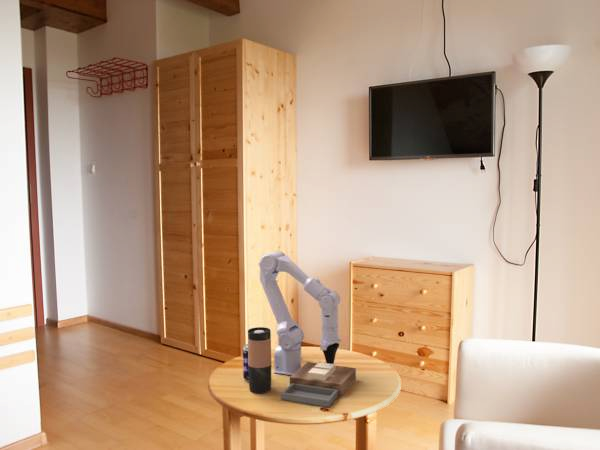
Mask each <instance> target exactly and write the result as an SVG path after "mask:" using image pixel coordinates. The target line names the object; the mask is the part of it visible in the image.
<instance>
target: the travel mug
mask: <svg viewBox="0 0 600 450" xmlns="http://www.w3.org/2000/svg"><path fill="white" fill-rule="evenodd" d="M271 333H272V332H271V328H268V327H265V326H264V327H261V326H258V327H251V328H249V329H248V330H247V344H248V370H249V381H248V386H249V387H248V388H249V391H250V392H251V393H252V392H253V394H259V395H260V394H267V393H268V392H270V391H271V390H272V335H271Z"/></svg>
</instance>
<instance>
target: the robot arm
mask: <svg viewBox="0 0 600 450" xmlns="http://www.w3.org/2000/svg"><path fill="white" fill-rule="evenodd" d="M258 266H259V281H260V283H261V286H262V288H263V290H264V293H265V295H266V298H267V300H268V303H269V306H270V308H271V310H272V314H273V315H274V317H275V320H276V323H277V328H276V334H277V344H278V343H279V345H280V346H278V345H277V346H276V347H275V349H274V353H273V358H274V359H273V361H274V362H273V363H274V365H273V367H274V369H273V373H274V374H280V375H287V376H292V375H293V374H294V373H295V372H296V371H298V370H299V369H300V368H301V367H302V344H301V343H302V341H303V340H304V337H305V336H304V335H305V333H304V331H303V329H302V328H301V327H300V326H299V325H298V323H297V321H296V320H294V319H293V318H292V316H291V314H290V311H289V309H288V307H287V303H286V301H285V299H284V297H283V294H282V291H281V289H280V286H279V284H278V282H277V277H278V276H279V273H281V272H283V273H287V274H288V275H290V276H291V277H292V278H293V279H295V280H297V281H298V282H299V283H300V284H302V286H303V290H304V291H305V292H306V293H307V294H308V295H310V296H311V297H312V298H314V300H315V301H317V302H318V305H319V307H320V309H321V339H320V340H321V341H320V344H319V350H320V351H322V353H323V356H324V359H325V363H329V364H335V359H336V355H337V351H338V349H339V347H340V343H341V342H342V338H340V333H339V304H340V303H341V302H340V301H341V297H340V295H339V294H338V292H337V291H336V290H331V288H329V287H327V286H325V285H324V284H323V283H322V282H321V279H320V278H316V277H309V275H307V274H306V273H305V271H303V269H301V268H300V267H299V266H298V265H297V264H296V263H295V262H293V260H292V259H291V258H290V256H288V255H286V254H285V253H284V252H283V251H280V250H278V251H274V252H270V253H265V254H264V255H262V257H261V258H260V260H259V262H258Z"/></svg>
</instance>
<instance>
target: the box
mask: <svg viewBox="0 0 600 450" xmlns="http://www.w3.org/2000/svg"><path fill="white" fill-rule="evenodd" d="M338 398H339V396H338V390H335V389H328V388H322V387H315V386H308V385H301V384H295V383H292V384H291V385H290V384H289V385H288V386H287V387H286V388H285V389H284V390H283V391H281V393H280V400H281V401H284V402H291V403H296V404H297V403H298V404H303V405H309V406H316V407H321V408H326V409H327V408H330V407H331V406H332V405H333V404H334V403H335V401H336V400H337V399H338Z"/></svg>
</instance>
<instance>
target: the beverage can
mask: <svg viewBox="0 0 600 450" xmlns="http://www.w3.org/2000/svg"><path fill="white" fill-rule="evenodd" d="M242 369H243V371H242V374H243V379H244V380H245V381H246V380H247V381H246V382H249V370H248V343H246V344H245V345H244V346H243V349H242Z"/></svg>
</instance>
